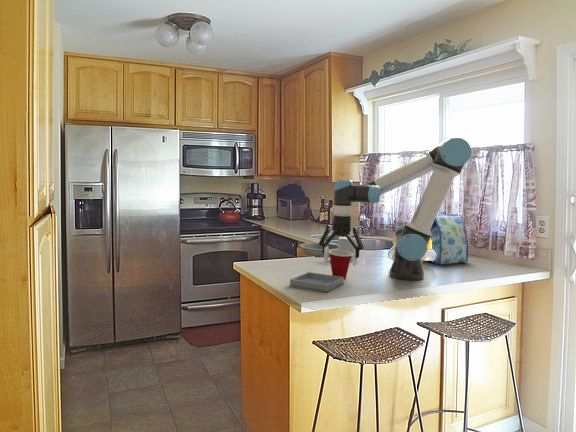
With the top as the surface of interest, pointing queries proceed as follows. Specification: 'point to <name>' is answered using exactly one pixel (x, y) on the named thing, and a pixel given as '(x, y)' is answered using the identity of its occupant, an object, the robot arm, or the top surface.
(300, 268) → the top surface
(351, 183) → the robot arm
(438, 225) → the lunch bag
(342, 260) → the plastic cup
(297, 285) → the tray
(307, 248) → the cake pan
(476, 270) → the top surface
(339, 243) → the white cylinder
